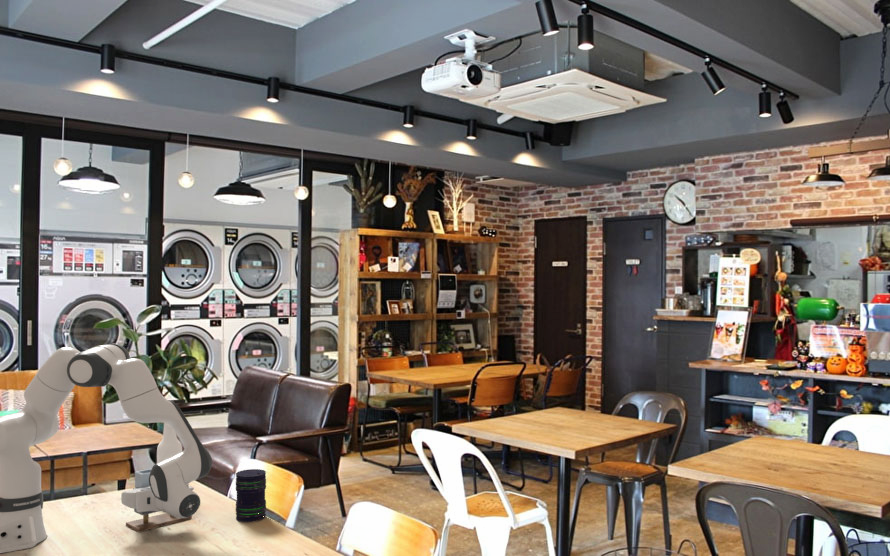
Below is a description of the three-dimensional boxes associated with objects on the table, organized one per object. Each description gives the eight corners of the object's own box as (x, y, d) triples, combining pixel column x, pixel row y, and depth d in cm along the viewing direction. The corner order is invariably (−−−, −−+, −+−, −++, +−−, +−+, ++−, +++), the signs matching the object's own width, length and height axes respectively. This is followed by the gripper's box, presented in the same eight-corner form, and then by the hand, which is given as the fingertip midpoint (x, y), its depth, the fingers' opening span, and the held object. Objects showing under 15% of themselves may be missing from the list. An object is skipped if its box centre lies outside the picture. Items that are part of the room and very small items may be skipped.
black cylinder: (229, 520, 243) (229, 475, 243) (246, 512, 252) (246, 468, 253) (255, 523, 240) (255, 477, 240) (271, 514, 249) (271, 470, 249)
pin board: (138, 531, 232) (138, 517, 232) (125, 525, 238) (125, 511, 238) (191, 518, 245) (191, 505, 245) (178, 513, 251) (178, 499, 251)
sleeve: (142, 515, 234) (141, 474, 235) (134, 512, 238) (134, 471, 238) (159, 511, 238) (158, 471, 239) (151, 508, 242) (150, 468, 242)
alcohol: (153, 499, 268) (153, 416, 268) (160, 492, 276) (160, 412, 277) (178, 498, 268) (178, 416, 269) (184, 491, 277) (185, 412, 278)
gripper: (196, 479, 237) (175, 472, 247) (133, 492, 222) (113, 484, 232) (196, 499, 237) (175, 491, 247) (133, 513, 222) (113, 504, 232)
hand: (145, 488), depth 239 cm, fingers closed on sleeve, 5 cm apart
